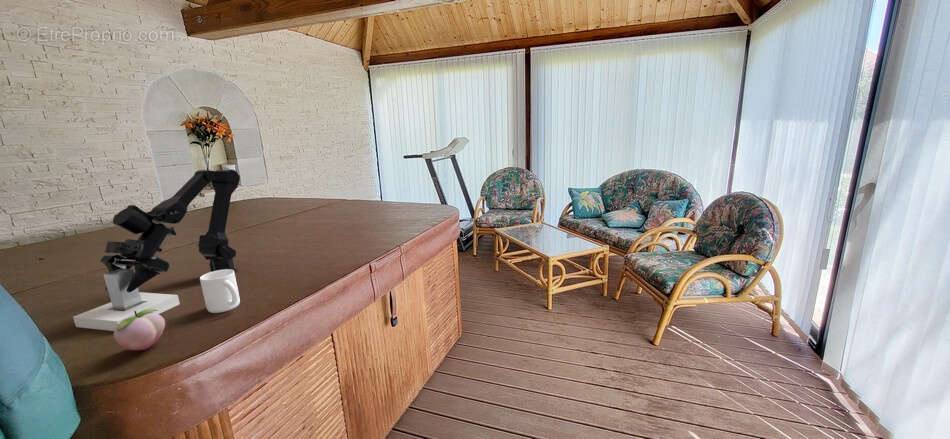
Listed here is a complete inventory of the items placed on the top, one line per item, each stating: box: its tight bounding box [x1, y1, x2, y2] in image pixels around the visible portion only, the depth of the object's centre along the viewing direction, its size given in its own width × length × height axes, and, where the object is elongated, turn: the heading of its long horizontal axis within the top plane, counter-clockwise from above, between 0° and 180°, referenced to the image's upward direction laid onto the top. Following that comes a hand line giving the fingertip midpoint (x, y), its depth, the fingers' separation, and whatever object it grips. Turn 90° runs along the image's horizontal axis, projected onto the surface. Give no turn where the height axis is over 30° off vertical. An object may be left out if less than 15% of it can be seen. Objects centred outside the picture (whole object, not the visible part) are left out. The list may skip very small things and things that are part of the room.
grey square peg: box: [103, 268, 142, 311], centre depth 105 cm, size 4×4×13 cm
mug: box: [199, 269, 241, 314], centre depth 107 cm, size 12×8×10 cm
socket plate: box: [72, 291, 180, 332], centre depth 106 cm, size 16×16×3 cm
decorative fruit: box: [113, 309, 166, 351], centre depth 87 cm, size 9×8×10 cm
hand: (117, 291), depth 103 cm, fingers open, 7 cm apart
